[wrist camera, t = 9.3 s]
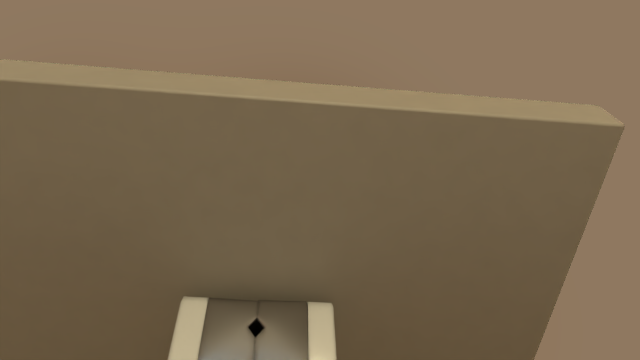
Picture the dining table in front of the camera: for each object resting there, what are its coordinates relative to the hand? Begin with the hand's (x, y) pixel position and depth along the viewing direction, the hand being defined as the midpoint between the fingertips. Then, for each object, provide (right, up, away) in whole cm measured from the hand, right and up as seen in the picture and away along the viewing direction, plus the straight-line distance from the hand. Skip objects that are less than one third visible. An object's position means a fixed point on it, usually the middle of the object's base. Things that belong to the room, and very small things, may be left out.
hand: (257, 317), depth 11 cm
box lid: (0, -3, +3) cm, 4 cm away
